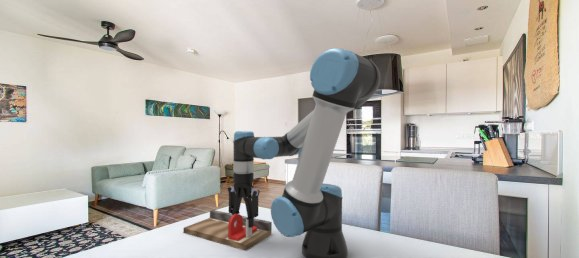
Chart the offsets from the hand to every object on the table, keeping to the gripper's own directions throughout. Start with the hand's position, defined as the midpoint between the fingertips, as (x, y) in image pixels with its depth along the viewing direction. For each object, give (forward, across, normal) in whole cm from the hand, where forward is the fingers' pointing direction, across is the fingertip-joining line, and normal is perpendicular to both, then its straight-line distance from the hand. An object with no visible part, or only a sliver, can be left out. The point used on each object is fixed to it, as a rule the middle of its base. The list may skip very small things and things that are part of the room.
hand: (242, 233), depth 97 cm
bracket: (+1, 0, -1) cm, 1 cm away
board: (+3, +10, -2) cm, 10 cm away
